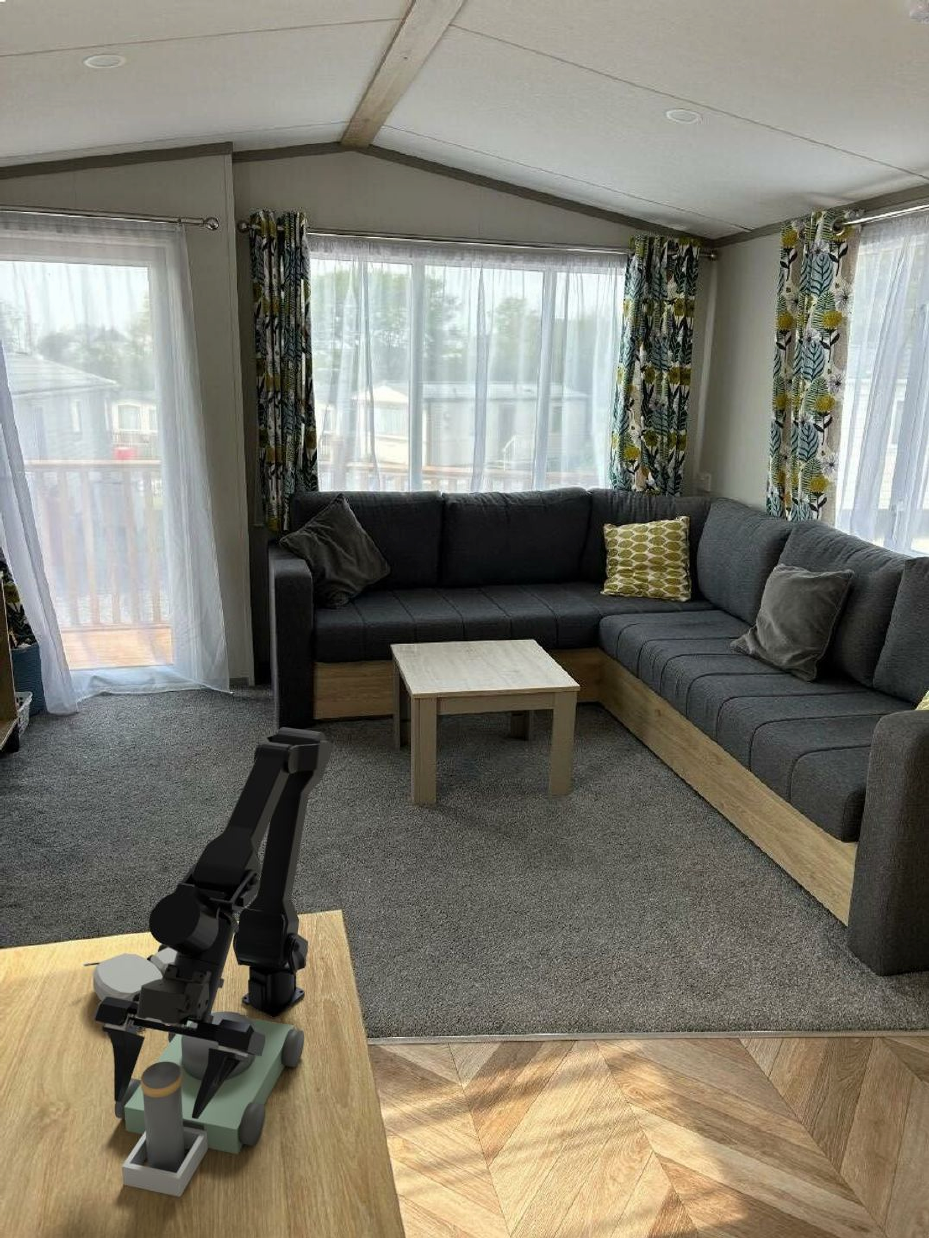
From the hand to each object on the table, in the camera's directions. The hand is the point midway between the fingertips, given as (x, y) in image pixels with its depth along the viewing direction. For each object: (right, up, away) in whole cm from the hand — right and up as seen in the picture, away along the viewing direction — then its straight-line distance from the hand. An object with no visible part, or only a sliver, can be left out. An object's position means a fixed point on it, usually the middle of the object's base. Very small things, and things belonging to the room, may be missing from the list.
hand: (155, 1109), depth 108 cm
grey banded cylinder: (0, -8, +4) cm, 9 cm away
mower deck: (+2, -6, +12) cm, 14 cm away
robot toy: (-11, +1, +34) cm, 35 cm away
